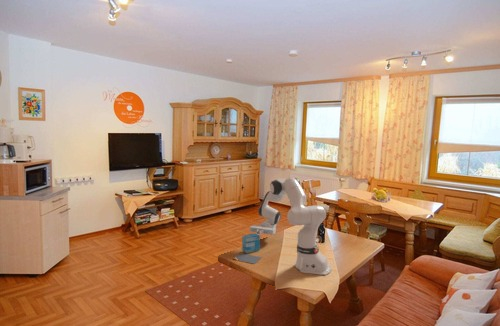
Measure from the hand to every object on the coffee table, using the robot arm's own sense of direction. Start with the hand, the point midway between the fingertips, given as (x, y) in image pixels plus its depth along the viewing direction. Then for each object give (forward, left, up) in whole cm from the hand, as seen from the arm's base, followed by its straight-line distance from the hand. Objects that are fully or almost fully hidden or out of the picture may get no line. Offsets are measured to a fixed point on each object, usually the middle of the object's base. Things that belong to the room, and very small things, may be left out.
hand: (258, 232), depth 230 cm
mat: (-3, +24, -10) cm, 26 cm away
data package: (0, +12, -10) cm, 16 cm away
